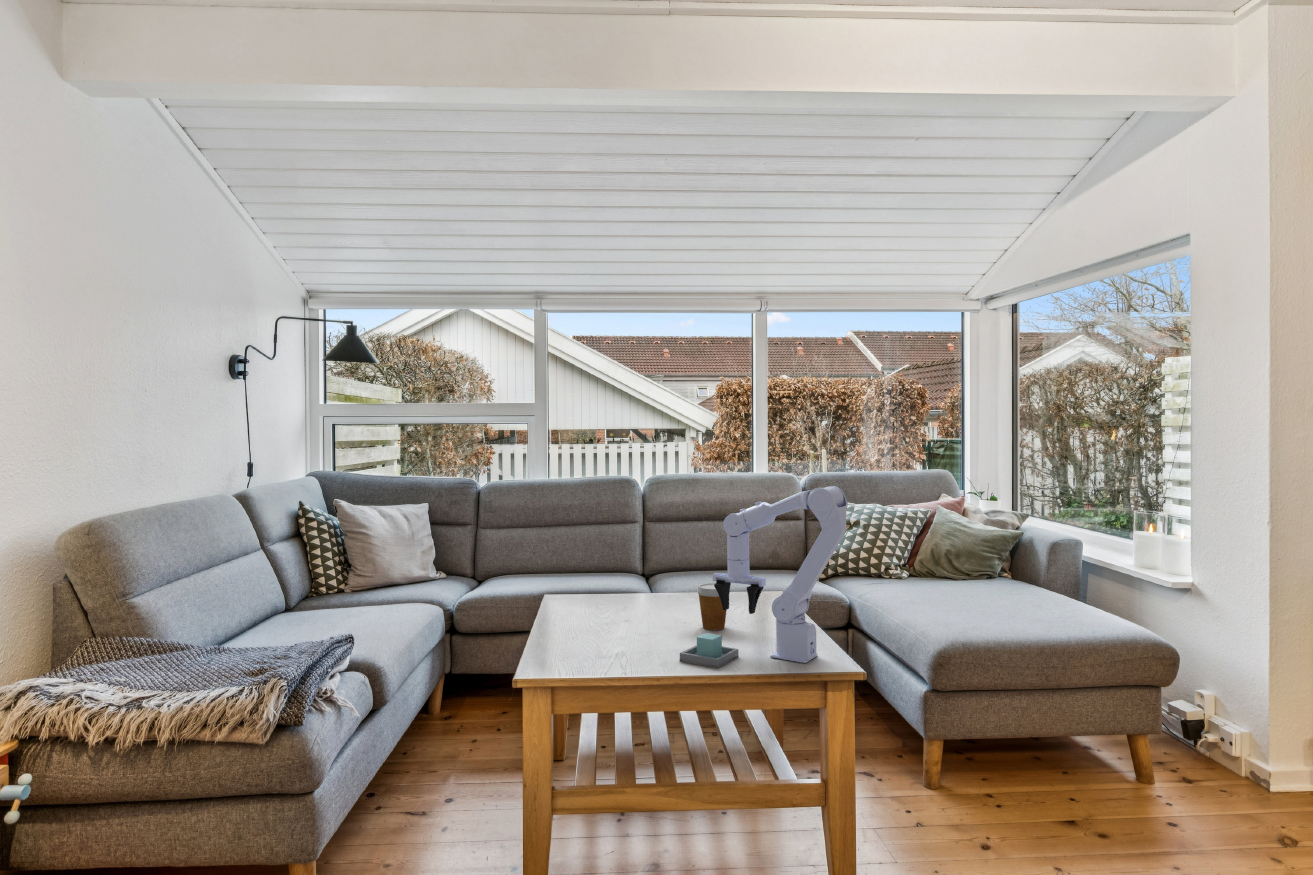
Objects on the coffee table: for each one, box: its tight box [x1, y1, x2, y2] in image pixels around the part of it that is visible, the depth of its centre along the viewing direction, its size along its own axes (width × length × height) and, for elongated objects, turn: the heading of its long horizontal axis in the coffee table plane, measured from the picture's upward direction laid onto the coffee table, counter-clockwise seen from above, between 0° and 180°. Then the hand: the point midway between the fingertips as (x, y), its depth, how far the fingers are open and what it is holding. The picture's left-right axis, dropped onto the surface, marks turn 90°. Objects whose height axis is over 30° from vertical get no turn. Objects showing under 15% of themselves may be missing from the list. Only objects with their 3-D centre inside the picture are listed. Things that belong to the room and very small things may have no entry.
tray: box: [679, 644, 739, 669], centre depth 177 cm, size 11×11×2 cm
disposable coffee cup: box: [696, 582, 728, 631], centre depth 207 cm, size 10×10×12 cm
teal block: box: [696, 632, 723, 658], centre depth 177 cm, size 4×4×5 cm
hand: (738, 611), depth 187 cm, fingers open, 7 cm apart
